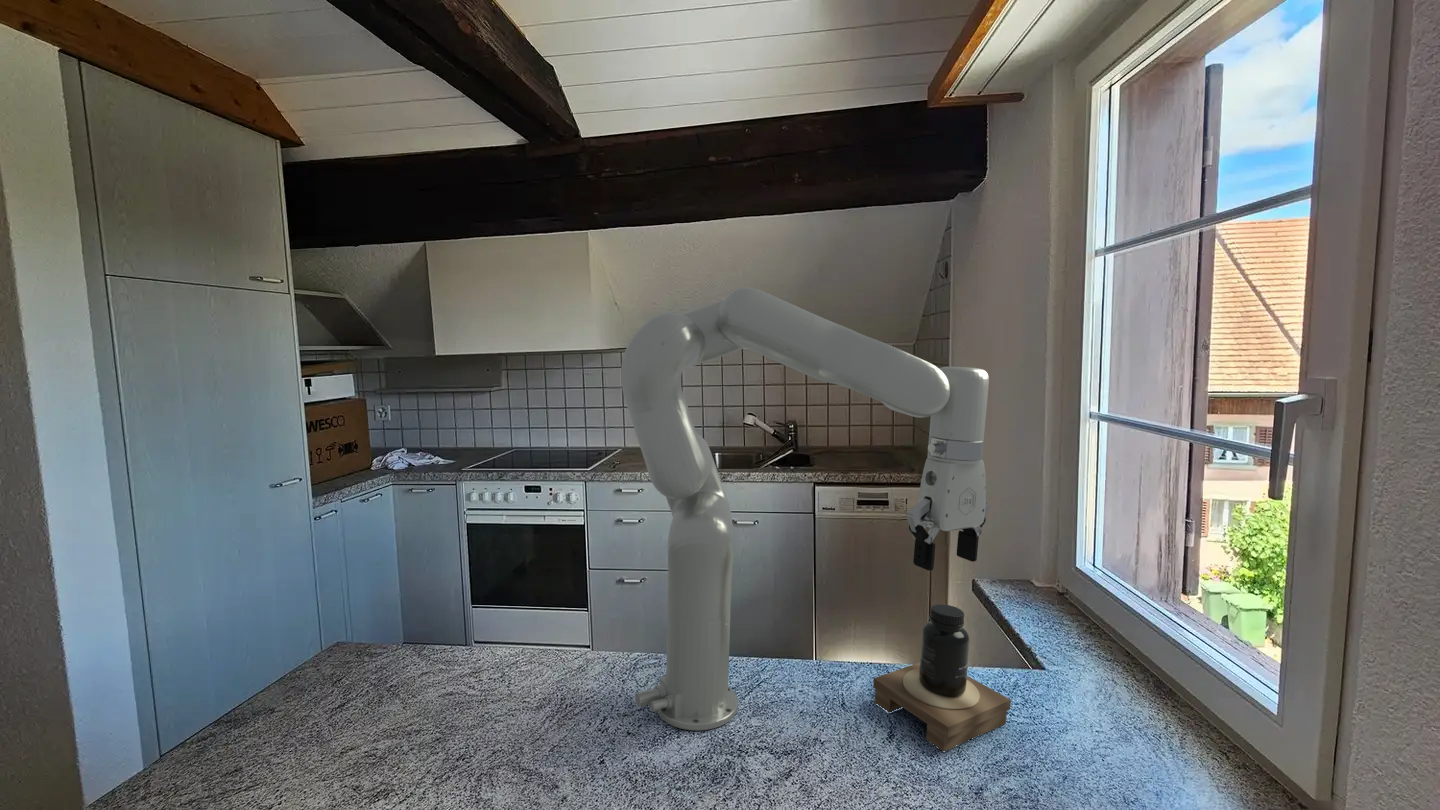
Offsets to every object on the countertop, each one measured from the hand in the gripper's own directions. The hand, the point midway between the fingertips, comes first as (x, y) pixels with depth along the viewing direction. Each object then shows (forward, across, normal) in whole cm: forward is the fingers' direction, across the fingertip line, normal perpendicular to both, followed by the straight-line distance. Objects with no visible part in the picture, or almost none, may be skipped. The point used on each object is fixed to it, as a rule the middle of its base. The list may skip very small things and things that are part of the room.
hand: (945, 562), depth 89 cm
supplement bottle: (+20, +1, 0) cm, 20 cm away
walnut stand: (+24, +1, 0) cm, 24 cm away
